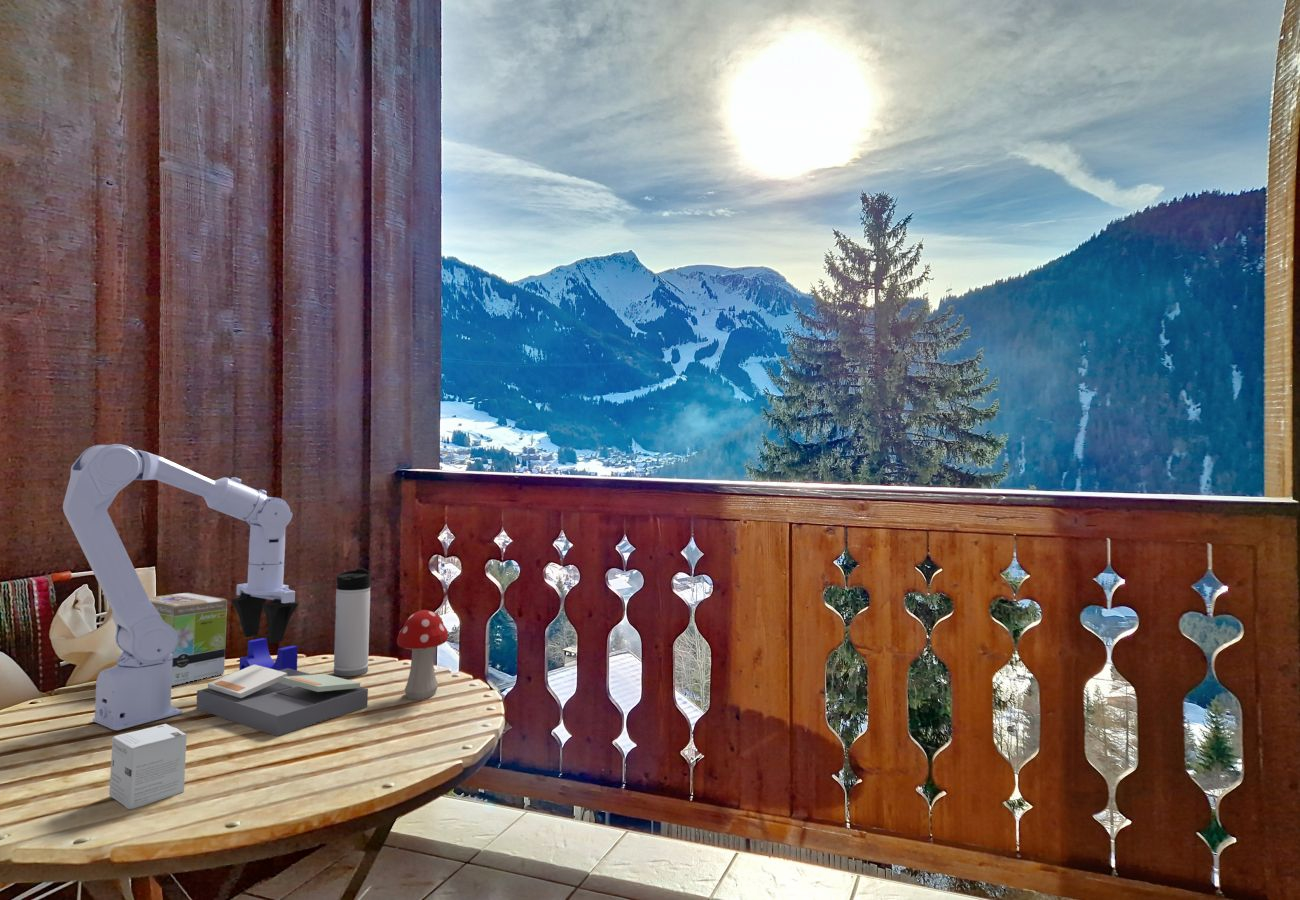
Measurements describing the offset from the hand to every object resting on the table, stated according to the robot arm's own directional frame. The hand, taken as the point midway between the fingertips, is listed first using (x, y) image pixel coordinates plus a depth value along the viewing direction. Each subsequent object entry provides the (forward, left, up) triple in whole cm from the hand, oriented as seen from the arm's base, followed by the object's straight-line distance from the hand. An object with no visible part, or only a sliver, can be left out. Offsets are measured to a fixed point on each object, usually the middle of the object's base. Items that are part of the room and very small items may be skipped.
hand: (263, 638), depth 127 cm
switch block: (0, -11, -9) cm, 15 cm away
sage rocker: (0, -17, -5) cm, 18 cm away
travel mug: (+17, -3, -10) cm, 19 cm away
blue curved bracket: (+7, +9, -10) cm, 15 cm away
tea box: (-2, +23, -10) cm, 25 cm away
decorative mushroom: (+15, -25, -10) cm, 30 cm away
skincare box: (-30, -27, -10) cm, 42 cm away
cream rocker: (-6, -6, -5) cm, 10 cm away
